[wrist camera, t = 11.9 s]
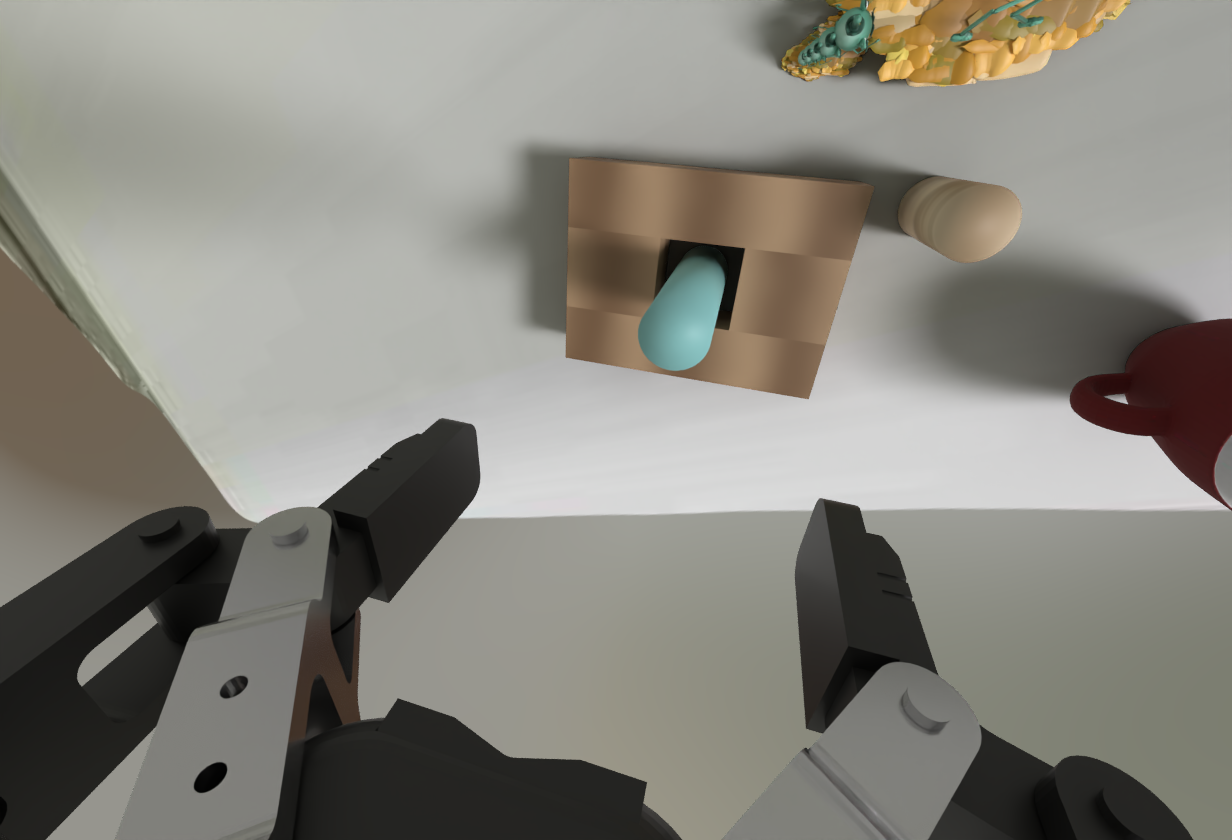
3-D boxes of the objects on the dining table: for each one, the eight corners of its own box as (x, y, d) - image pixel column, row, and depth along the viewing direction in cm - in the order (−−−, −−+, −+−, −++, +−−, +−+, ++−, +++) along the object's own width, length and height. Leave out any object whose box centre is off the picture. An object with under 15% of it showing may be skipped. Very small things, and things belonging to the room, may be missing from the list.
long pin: (732, 248, 31) (717, 305, 20) (722, 298, 32) (704, 376, 21) (682, 242, 31) (641, 294, 20) (675, 291, 33) (634, 364, 22)
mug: (1027, 435, 32) (1125, 540, 23) (1033, 318, 28) (1148, 391, 20) (1252, 408, 28) (1466, 522, 19) (1287, 270, 25) (1563, 335, 16)
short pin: (973, 179, 26) (1036, 188, 20) (948, 241, 28) (1000, 266, 22) (909, 173, 27) (953, 181, 21) (889, 234, 28) (923, 258, 22)
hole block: (860, 181, 27) (874, 186, 24) (803, 373, 33) (808, 399, 30) (590, 156, 30) (569, 158, 27) (583, 337, 36) (565, 357, 33)
